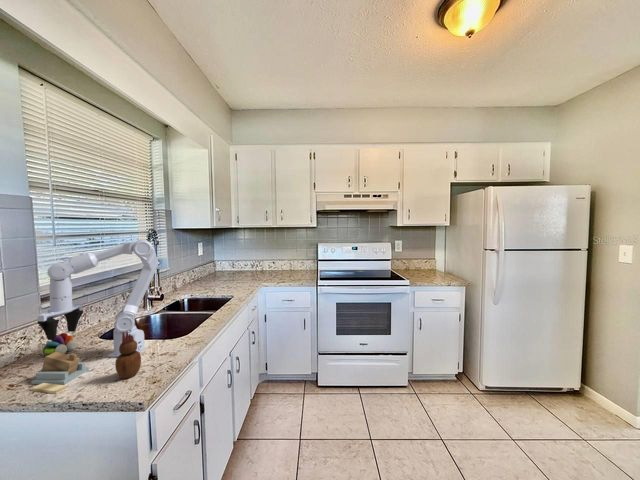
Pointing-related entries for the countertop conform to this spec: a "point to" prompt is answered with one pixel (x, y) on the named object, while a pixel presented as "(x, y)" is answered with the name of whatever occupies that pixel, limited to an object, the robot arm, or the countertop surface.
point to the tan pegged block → (61, 363)
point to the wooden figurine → (128, 357)
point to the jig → (59, 375)
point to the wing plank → (49, 388)
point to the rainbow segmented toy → (59, 344)
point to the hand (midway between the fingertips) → (62, 335)
